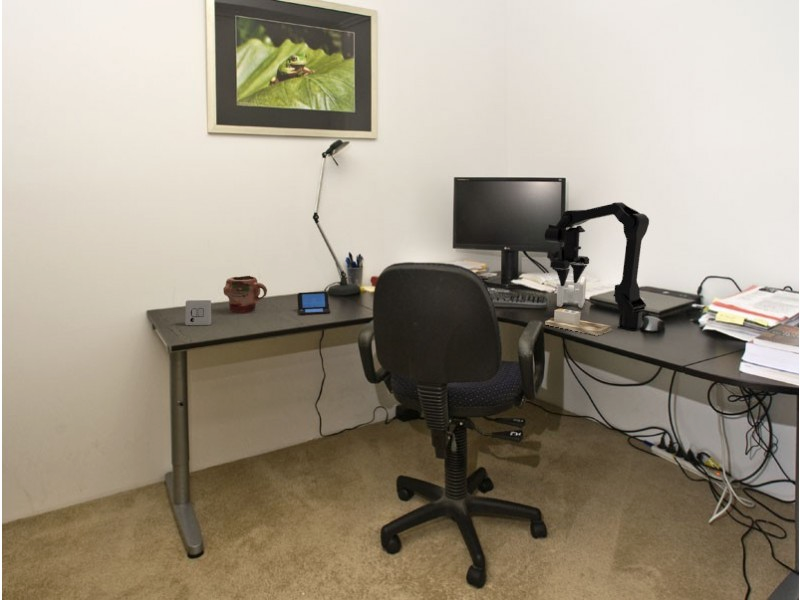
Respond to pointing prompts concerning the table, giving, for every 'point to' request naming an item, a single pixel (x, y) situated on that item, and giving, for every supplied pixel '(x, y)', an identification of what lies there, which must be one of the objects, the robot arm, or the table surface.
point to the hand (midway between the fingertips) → (568, 284)
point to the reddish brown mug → (243, 293)
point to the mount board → (582, 327)
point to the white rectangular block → (567, 317)
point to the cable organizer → (571, 292)
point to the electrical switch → (198, 312)
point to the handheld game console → (313, 303)
